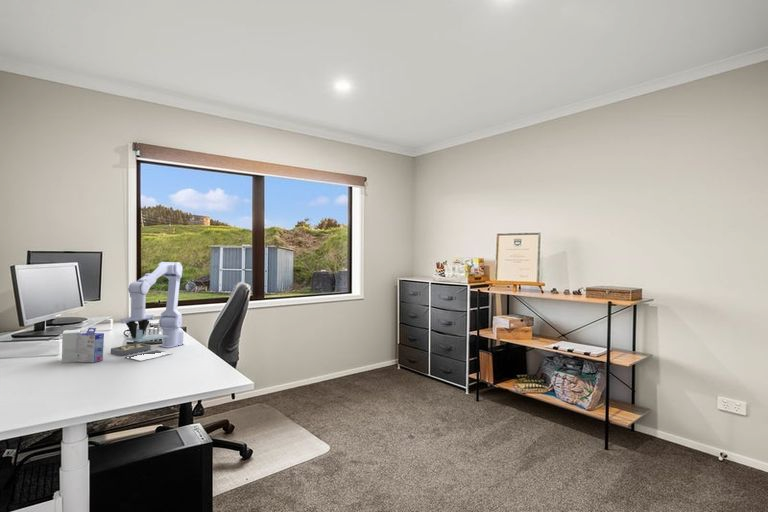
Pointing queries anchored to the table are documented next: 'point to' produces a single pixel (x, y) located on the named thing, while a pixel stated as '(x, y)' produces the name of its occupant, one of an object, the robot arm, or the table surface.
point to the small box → (69, 345)
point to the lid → (146, 336)
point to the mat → (146, 353)
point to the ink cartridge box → (89, 346)
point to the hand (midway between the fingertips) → (137, 336)
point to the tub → (130, 349)
